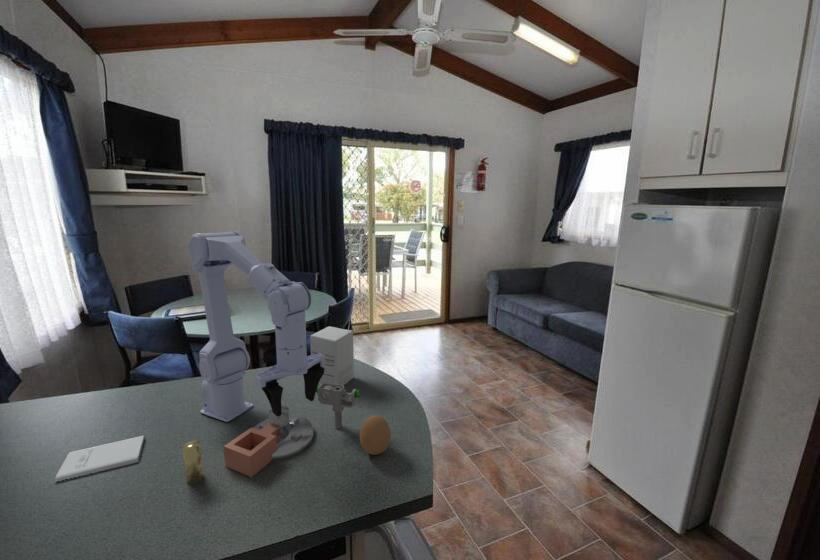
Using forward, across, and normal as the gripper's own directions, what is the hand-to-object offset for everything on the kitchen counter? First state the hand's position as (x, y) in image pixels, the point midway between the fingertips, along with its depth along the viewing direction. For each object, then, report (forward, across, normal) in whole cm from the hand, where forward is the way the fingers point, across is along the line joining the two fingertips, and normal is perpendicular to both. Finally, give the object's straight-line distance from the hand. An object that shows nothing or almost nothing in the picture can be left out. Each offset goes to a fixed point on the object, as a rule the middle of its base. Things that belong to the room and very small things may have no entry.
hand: (294, 406), depth 76 cm
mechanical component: (+10, +11, 0) cm, 15 cm away
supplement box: (+10, +24, +18) cm, 32 cm away
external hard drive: (+11, -27, +25) cm, 39 cm away
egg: (+10, +11, -13) cm, 20 cm away
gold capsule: (+10, -17, +6) cm, 21 cm away
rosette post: (+10, 0, +6) cm, 11 cm away
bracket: (+10, -6, +4) cm, 12 cm away
